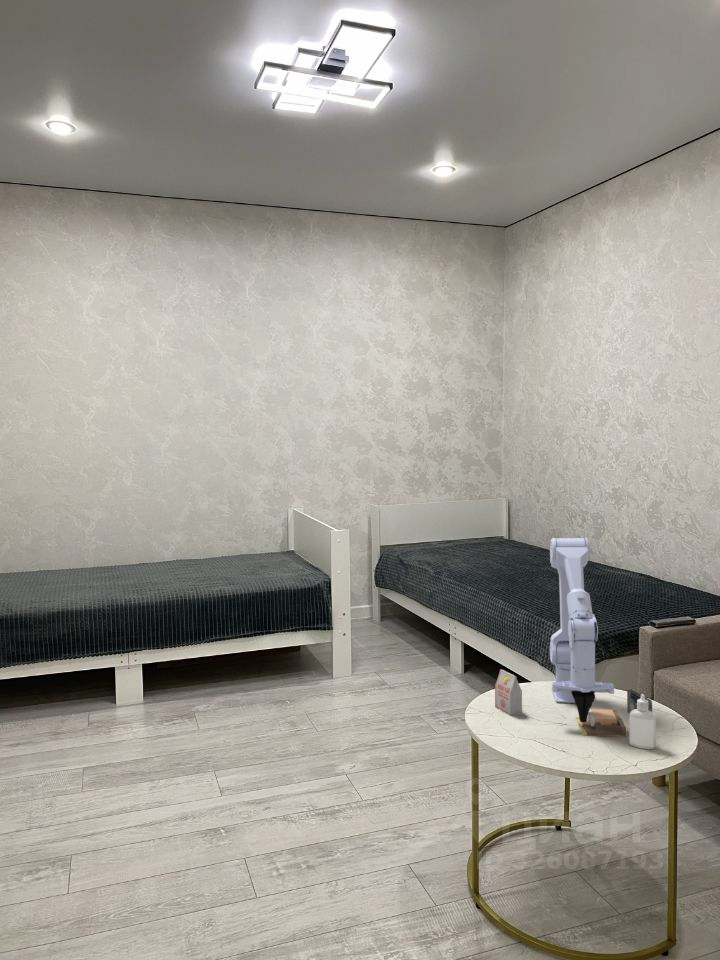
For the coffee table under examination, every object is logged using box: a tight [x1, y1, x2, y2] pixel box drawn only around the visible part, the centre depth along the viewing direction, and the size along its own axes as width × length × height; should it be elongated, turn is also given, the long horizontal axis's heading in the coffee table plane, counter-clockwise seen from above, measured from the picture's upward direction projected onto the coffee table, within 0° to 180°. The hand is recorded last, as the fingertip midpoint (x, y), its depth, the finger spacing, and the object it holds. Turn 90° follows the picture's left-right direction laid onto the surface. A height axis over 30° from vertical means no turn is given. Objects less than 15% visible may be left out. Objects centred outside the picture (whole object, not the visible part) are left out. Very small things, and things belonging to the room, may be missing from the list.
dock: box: [575, 709, 627, 738], centre depth 183 cm, size 11×10×2 cm
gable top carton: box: [494, 669, 523, 716], centre depth 195 cm, size 4×7×10 cm, turn 24°
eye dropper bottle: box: [628, 693, 657, 750], centre depth 171 cm, size 4×6×12 cm
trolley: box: [587, 708, 619, 729], centre depth 183 cm, size 7×6×3 cm
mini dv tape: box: [626, 689, 653, 715], centre depth 188 cm, size 8×2×6 cm, turn 14°
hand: (582, 720), depth 183 cm, fingers closed
